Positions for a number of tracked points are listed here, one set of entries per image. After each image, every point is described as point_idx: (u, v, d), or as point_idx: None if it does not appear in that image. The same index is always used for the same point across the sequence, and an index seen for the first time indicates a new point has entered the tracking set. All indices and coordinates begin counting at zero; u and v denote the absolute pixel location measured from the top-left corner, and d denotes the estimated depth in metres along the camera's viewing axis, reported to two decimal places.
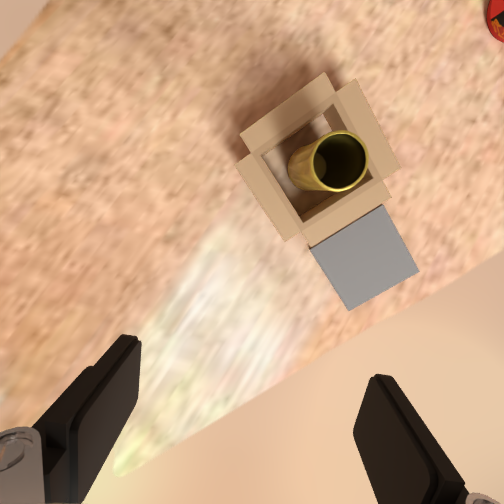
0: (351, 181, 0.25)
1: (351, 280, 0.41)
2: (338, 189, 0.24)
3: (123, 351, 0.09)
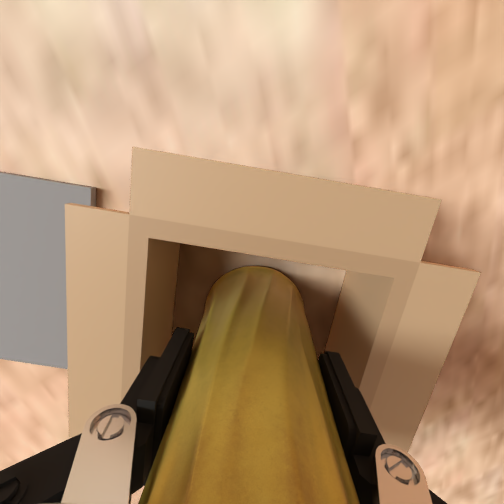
0: None
1: None
2: None
3: (182, 342, 0.10)
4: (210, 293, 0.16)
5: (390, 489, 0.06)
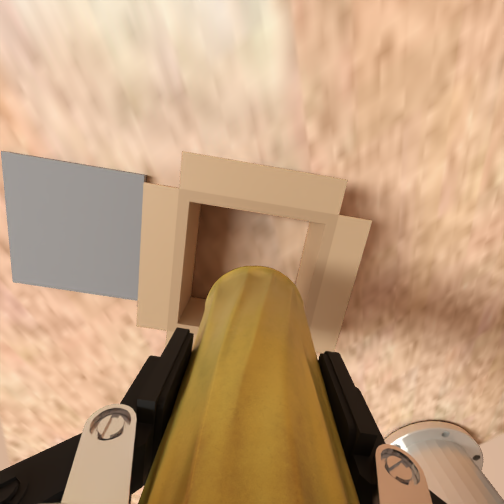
0: None
1: (54, 193, 0.24)
2: None
3: (182, 342, 0.10)
4: (210, 293, 0.16)
5: (390, 489, 0.06)
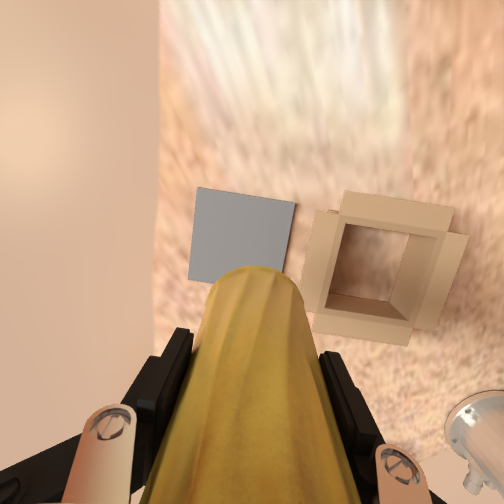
0: None
1: (229, 216, 0.33)
2: None
3: (182, 342, 0.10)
4: (210, 293, 0.16)
5: (390, 489, 0.06)
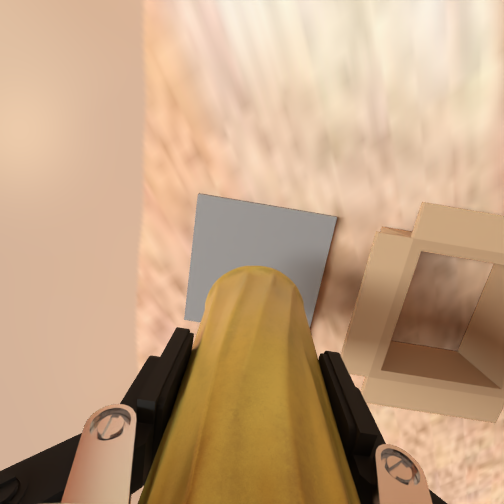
0: None
1: (243, 234, 0.24)
2: None
3: (182, 342, 0.10)
4: (210, 293, 0.16)
5: (390, 489, 0.06)
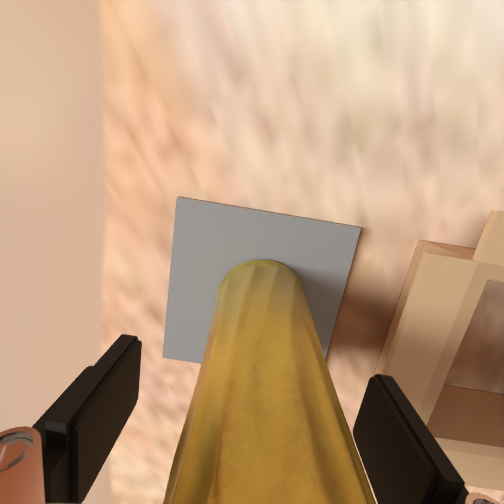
0: None
1: (237, 250, 0.18)
2: None
3: (123, 351, 0.09)
4: (221, 284, 0.18)
5: None
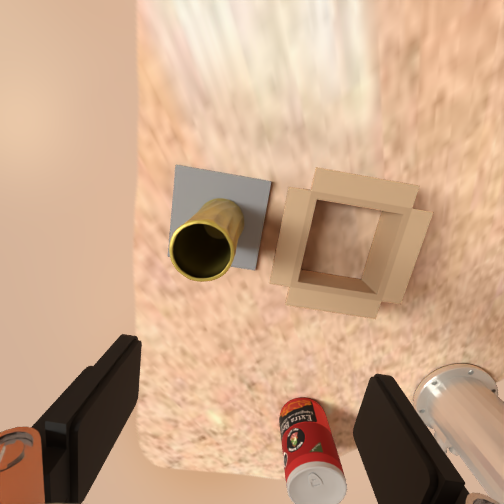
0: (175, 248, 0.22)
1: (207, 193, 0.34)
2: (176, 233, 0.21)
3: (123, 351, 0.09)
4: None
5: None
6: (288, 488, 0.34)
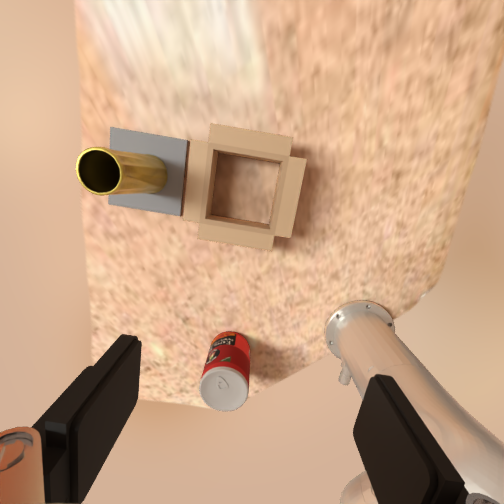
0: (83, 172, 0.31)
1: (137, 150, 0.42)
2: (80, 157, 0.29)
3: (123, 351, 0.09)
4: None
5: None
6: (200, 389, 0.42)
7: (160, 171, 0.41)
